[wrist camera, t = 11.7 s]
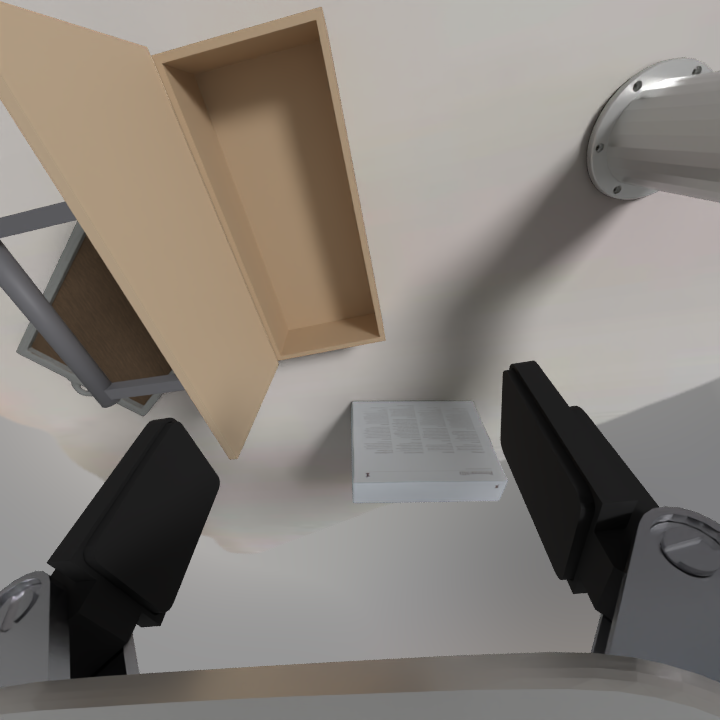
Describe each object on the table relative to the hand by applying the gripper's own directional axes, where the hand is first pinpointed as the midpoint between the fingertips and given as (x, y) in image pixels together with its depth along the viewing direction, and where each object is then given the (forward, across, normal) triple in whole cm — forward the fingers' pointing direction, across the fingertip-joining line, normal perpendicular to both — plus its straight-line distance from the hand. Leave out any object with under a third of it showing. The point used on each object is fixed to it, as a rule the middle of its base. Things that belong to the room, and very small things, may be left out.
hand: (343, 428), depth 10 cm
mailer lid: (+21, +14, 0) cm, 25 cm away
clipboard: (+36, +37, +10) cm, 53 cm away
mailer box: (+37, +7, 0) cm, 37 cm away
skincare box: (+37, -2, +35) cm, 51 cm away
